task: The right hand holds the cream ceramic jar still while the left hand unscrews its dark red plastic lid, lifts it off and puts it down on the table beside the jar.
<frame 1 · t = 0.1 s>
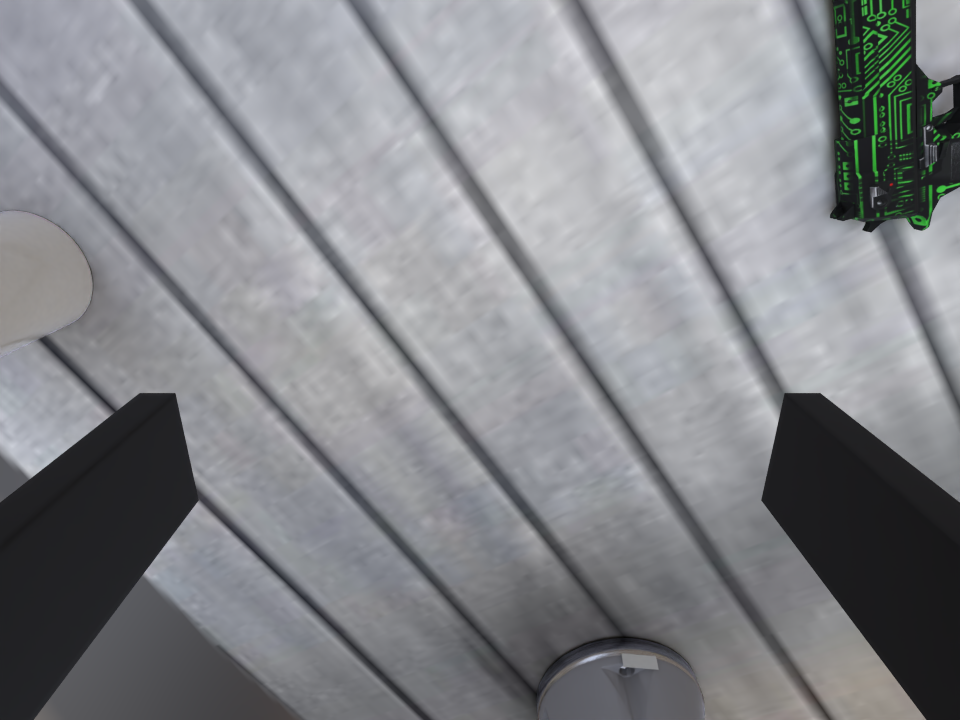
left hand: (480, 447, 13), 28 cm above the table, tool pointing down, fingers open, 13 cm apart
jar: (31, 272, 40), on the table
handgun: (931, 91, 36), on the table
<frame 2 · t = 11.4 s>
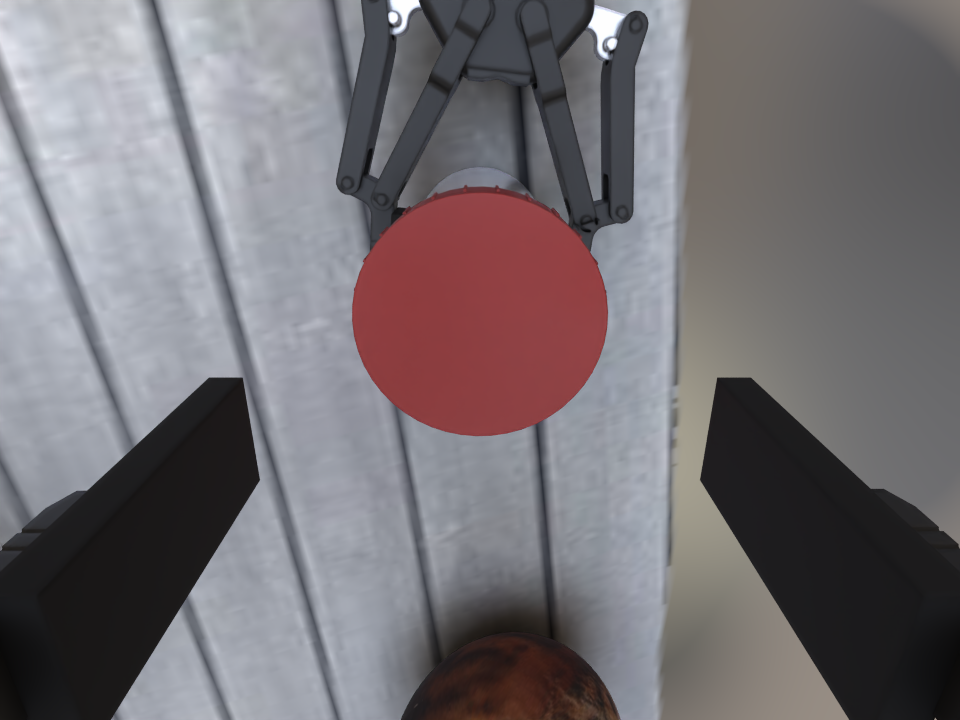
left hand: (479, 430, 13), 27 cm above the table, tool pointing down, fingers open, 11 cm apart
right hand: (471, 330, 34), fingers closed on jar, 8 cm apart
jar: (479, 231, 39), on the table, touching right hand
lid: (479, 321, 21), point 19 cm above the table, screwed on, not yet turned
plush toy: (499, 669, 54), on the table
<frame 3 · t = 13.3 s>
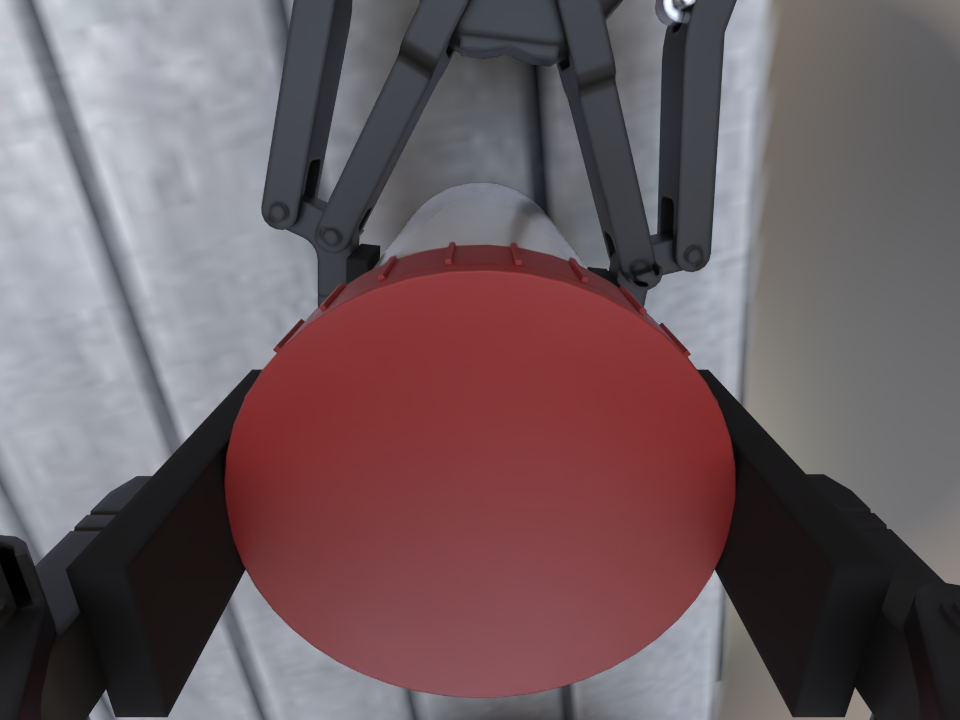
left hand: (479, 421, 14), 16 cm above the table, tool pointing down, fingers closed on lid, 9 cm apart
right hand: (468, 417, 24), fingers closed on jar, 8 cm apart
jar: (480, 269, 29), on the table, touching right hand
lid: (480, 507, 11), point 19 cm above the table, screwed on, not yet turned, touching left hand
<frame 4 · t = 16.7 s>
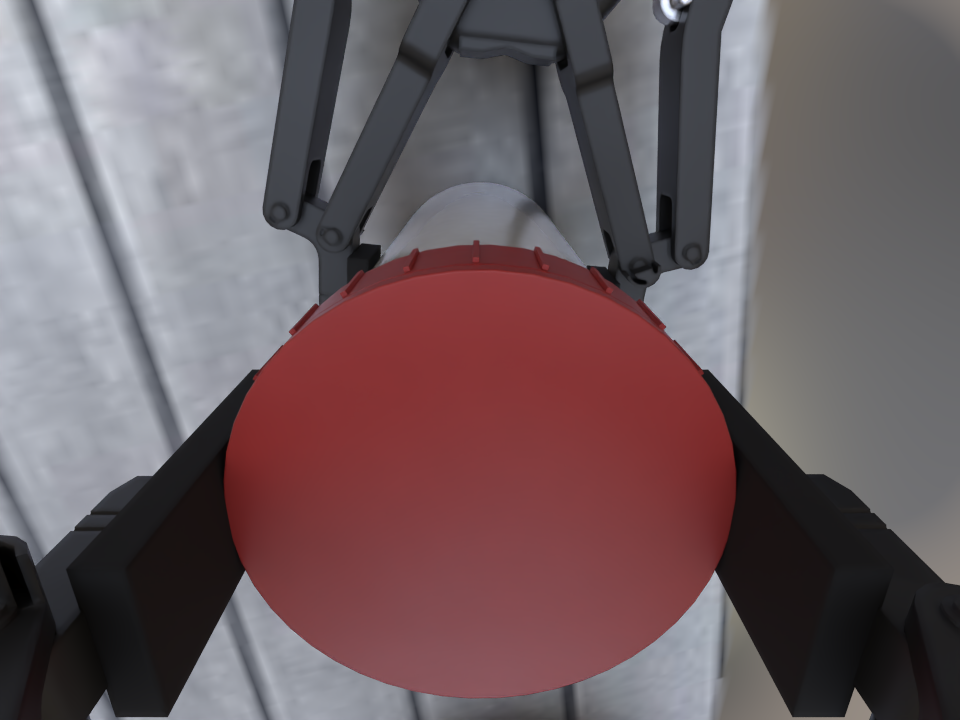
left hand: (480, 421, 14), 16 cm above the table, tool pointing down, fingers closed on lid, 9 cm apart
right hand: (469, 415, 24), fingers closed on jar, 8 cm apart
jar: (480, 268, 29), on the table, touching right hand
lid: (480, 507, 11), point 19 cm above the table, turned 119° so far, risen 0.2 cm, still on its thread, touching left hand
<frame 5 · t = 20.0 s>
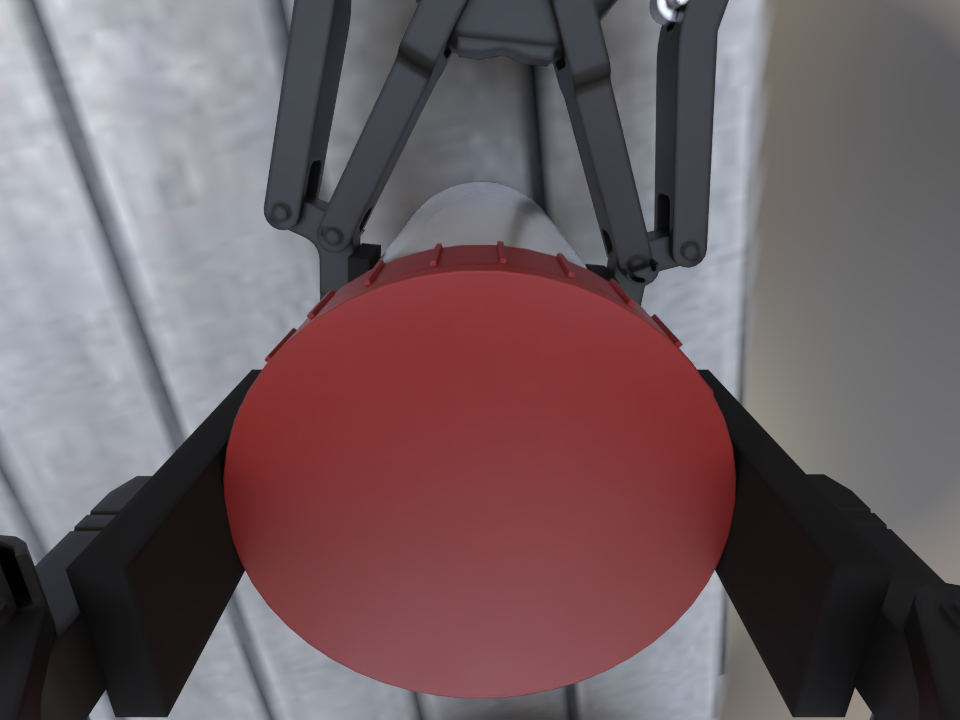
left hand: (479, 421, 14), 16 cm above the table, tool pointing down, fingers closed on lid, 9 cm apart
right hand: (469, 413, 24), fingers closed on jar, 8 cm apart
jar: (480, 267, 29), on the table, touching right hand
lid: (479, 507, 11), point 20 cm above the table, turned 238° so far, risen 0.4 cm, still on its thread, touching left hand
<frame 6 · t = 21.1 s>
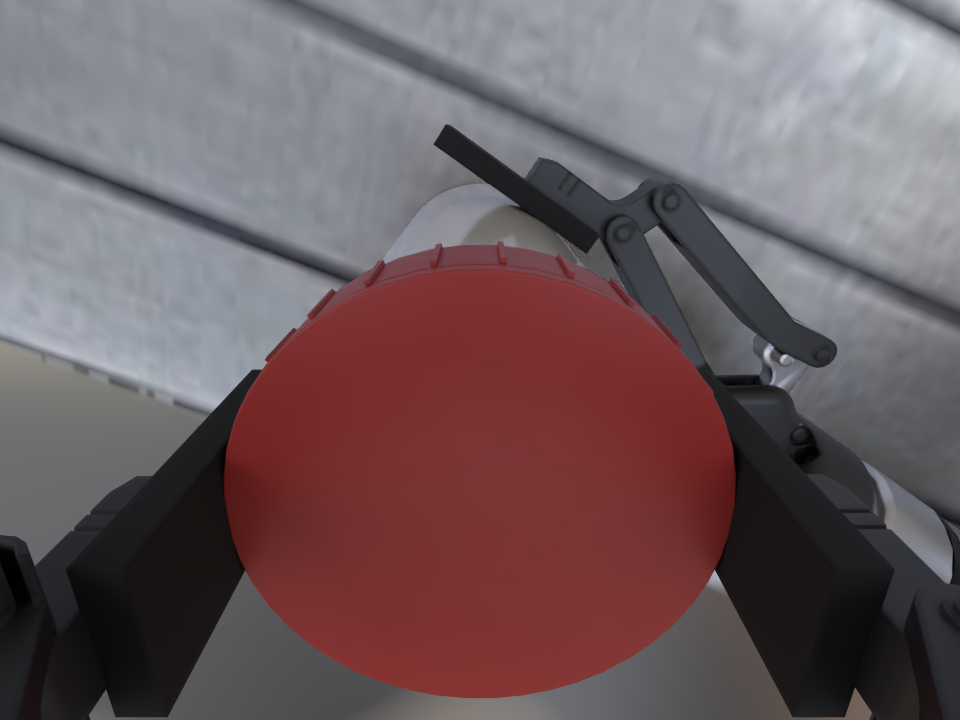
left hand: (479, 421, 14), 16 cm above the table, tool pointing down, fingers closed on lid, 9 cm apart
right hand: (377, 240, 22), fingers closed on jar, 8 cm apart
jar: (480, 268, 29), on the table, touching right hand
lid: (479, 507, 11), point 20 cm above the table, off its thread, touching left hand
when the left hand's fingers open (0 cm above the table, at t = 27.5 s): lid drops 2 cm, point 2 cm above the table.
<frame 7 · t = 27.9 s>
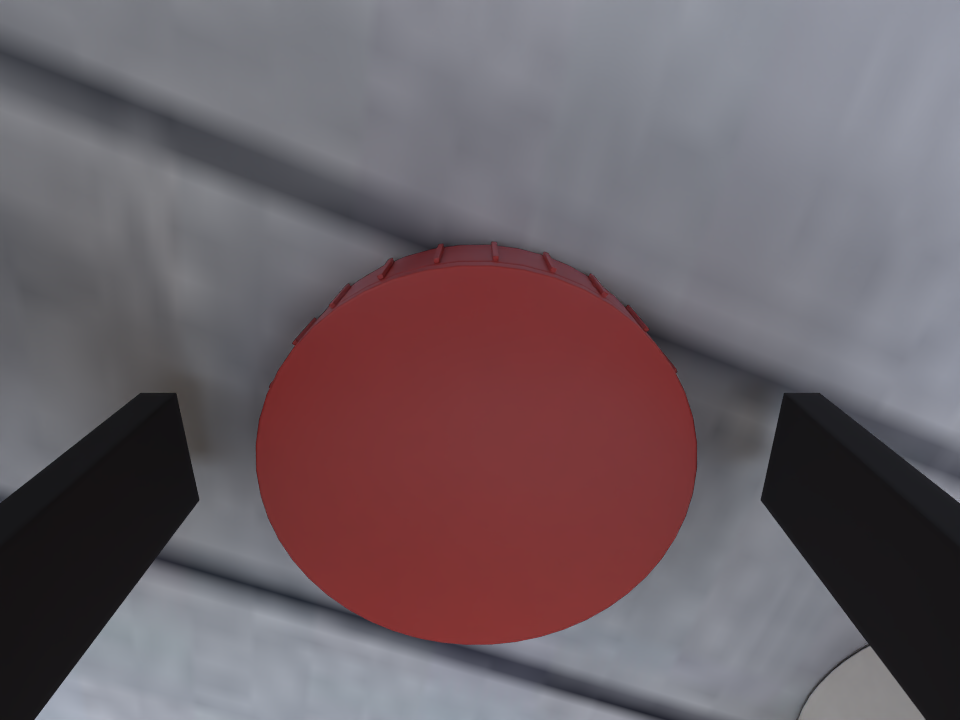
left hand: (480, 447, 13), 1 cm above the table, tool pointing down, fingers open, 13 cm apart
lid: (476, 472, 12), point 2 cm above the table, off its thread
when the right hand's fingers open (7 cm above the table, at t = 28.5 s): jar stays where it is, on the table.
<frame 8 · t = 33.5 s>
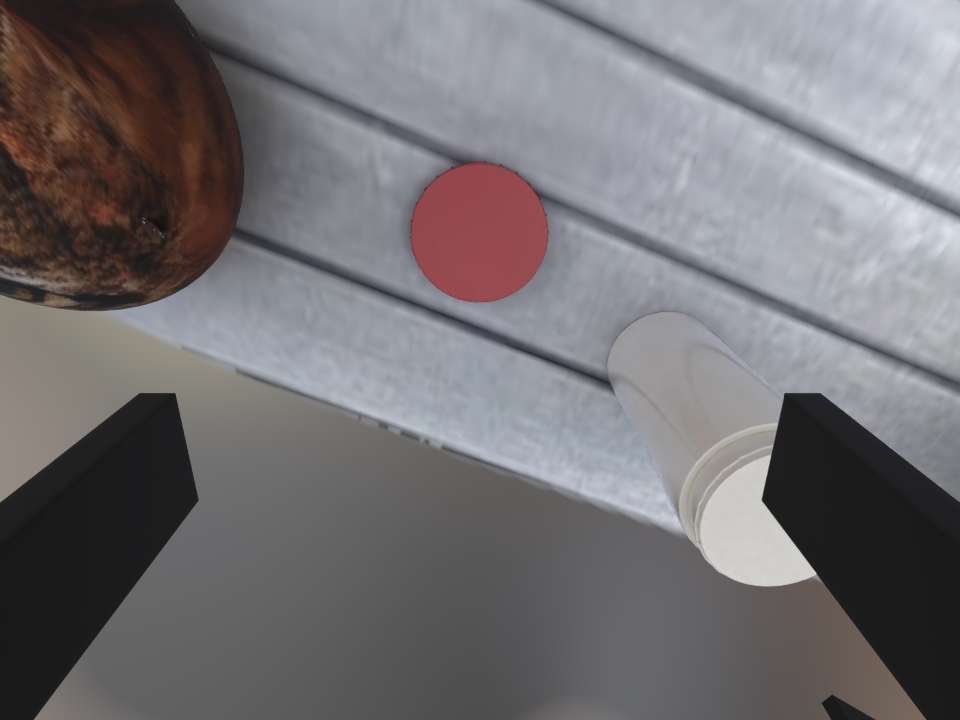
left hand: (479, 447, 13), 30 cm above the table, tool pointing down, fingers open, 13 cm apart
jar: (661, 363, 44), on the table
lid: (479, 235, 39), point 2 cm above the table, off its thread
plush toy: (131, 109, 37), on the table
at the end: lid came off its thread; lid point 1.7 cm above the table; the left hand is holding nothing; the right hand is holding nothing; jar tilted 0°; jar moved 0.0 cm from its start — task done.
